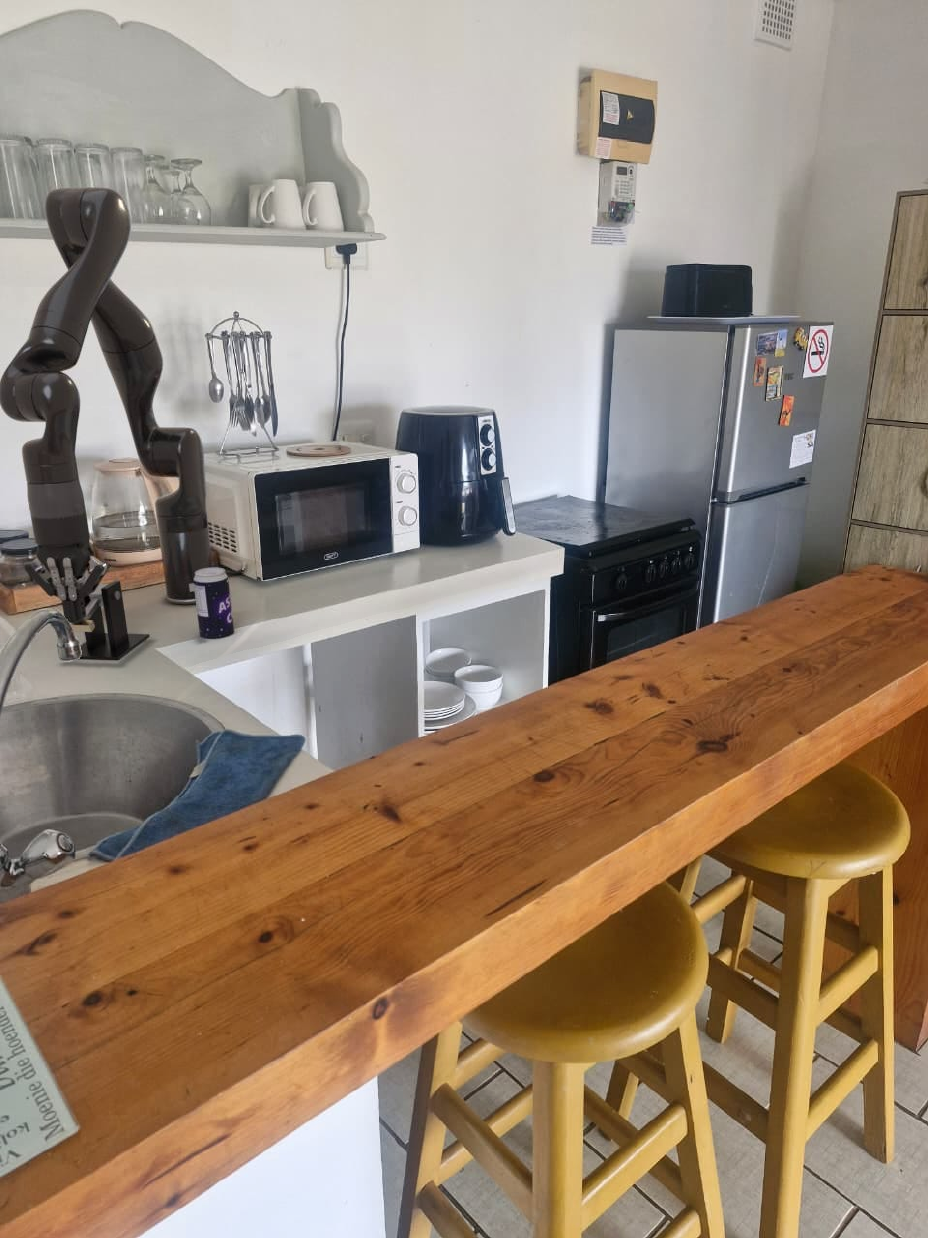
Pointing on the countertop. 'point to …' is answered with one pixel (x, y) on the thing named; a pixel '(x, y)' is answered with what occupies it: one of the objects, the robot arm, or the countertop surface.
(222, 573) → the beverage can
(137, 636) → the lever switch base
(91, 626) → the switch lever
